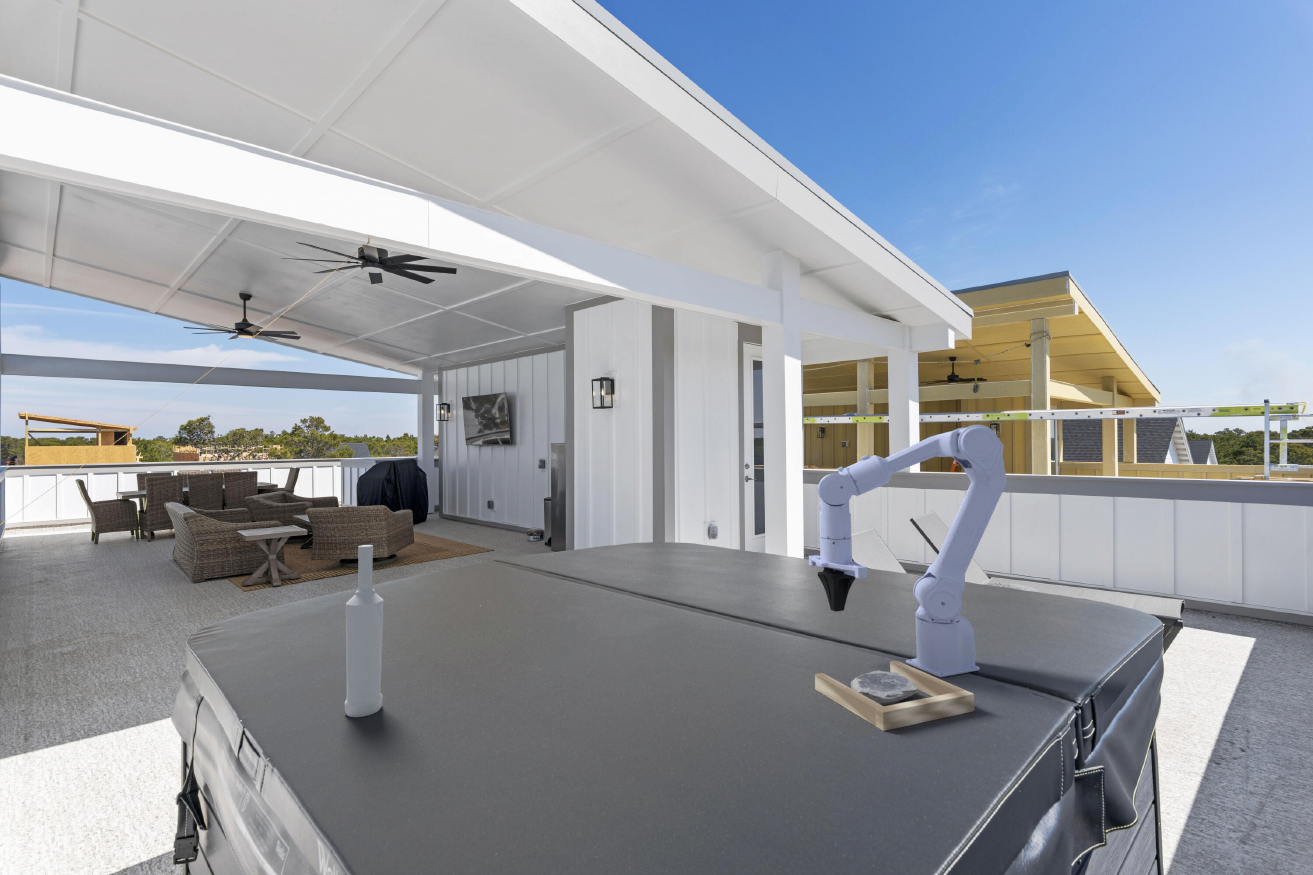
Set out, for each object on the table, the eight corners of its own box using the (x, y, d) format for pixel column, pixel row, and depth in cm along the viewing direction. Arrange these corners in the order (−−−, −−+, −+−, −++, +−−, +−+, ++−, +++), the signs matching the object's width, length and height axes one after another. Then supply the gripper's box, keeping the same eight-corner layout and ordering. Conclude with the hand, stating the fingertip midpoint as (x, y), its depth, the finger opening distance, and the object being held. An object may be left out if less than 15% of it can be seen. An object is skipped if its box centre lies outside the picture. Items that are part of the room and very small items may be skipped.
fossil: (858, 662, 98) (919, 661, 93) (864, 686, 98) (926, 686, 93) (840, 692, 89) (907, 692, 83) (847, 718, 88) (915, 720, 83)
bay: (897, 675, 100) (896, 660, 100) (974, 710, 85) (974, 693, 85) (815, 689, 94) (814, 674, 94) (883, 730, 79) (882, 712, 79)
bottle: (390, 705, 89) (391, 544, 90) (363, 719, 84) (365, 548, 85) (364, 701, 91) (366, 542, 92) (336, 715, 86) (338, 547, 87)
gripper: (795, 534, 113) (796, 603, 113) (843, 543, 100) (845, 622, 99) (824, 532, 116) (826, 600, 115) (875, 541, 102) (878, 618, 102)
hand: (837, 610), depth 107 cm, fingers closed
